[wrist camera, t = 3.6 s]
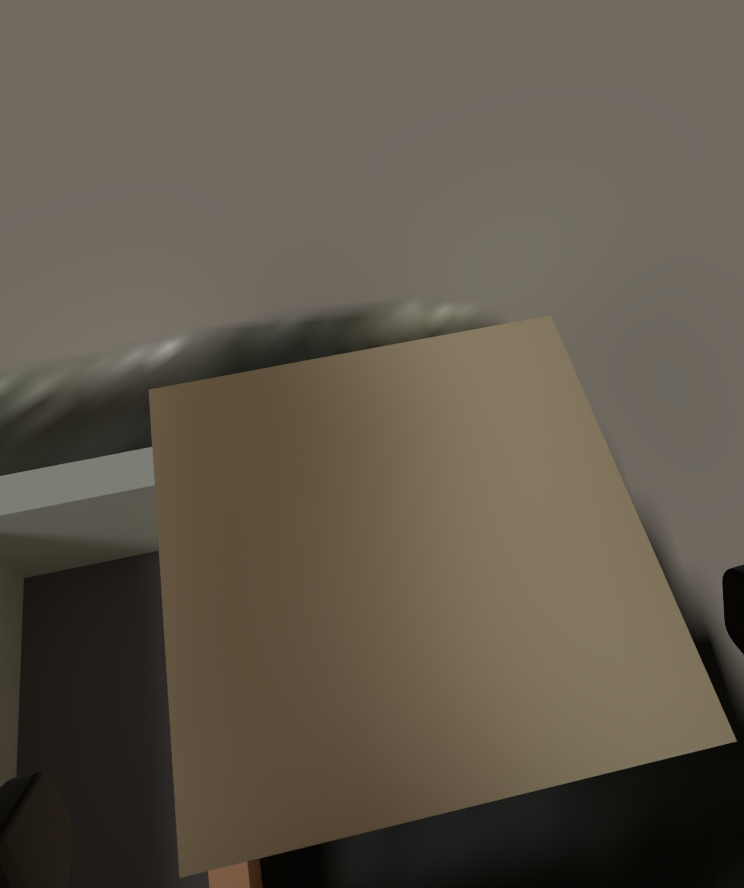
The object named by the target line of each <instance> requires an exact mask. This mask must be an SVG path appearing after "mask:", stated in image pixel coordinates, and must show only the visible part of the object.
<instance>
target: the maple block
mask: <svg viewBox="0 0 744 888" xmlns="http://www.w3.org/2000/svg"><path fill="white" fill-rule="evenodd" d="M149 401H150V417H151V433H152V448H153V464H154V480H155V496H156V512H157V528H158V544H159V560H160V576H161V591H162V607H163V623H164V639H165V655H166V671H167V687H168V703H169V719H170V734H171V750H172V766H173V782H174V798H175V814H176V830H177V846H178V862H179V877H180V878H182V877H186V876H190V875H194V874H198V873H202V872H206V871H210V870H214V869H218V868H222V867H226V866H231V865H235V864H239V863H243V862H247V861H251V860H255V859H259V858H263V857H267V856H271V855H275V854H280V853H284V852H288V851H292V850H296V849H300V848H304V847H308V846H312V845H316V844H320V843H324V842H328V841H333V840H337V839H341V838H345V837H349V836H353V835H357V834H361V833H365V832H369V831H373V830H377V829H381V828H386V827H390V826H394V825H398V824H402V823H406V822H410V821H414V820H418V819H422V818H426V817H430V816H434V815H439V814H443V813H447V812H451V811H455V810H459V809H463V808H467V807H471V806H475V805H479V804H483V803H487V802H492V801H496V800H500V799H504V798H508V797H512V796H516V795H520V794H524V793H528V792H532V791H536V790H540V789H545V788H549V787H553V786H557V785H561V784H565V783H569V782H573V781H577V780H581V779H585V778H589V777H594V776H598V775H602V774H606V773H610V772H614V771H618V770H622V769H626V768H630V767H634V766H638V765H642V764H647V763H651V762H655V761H659V760H663V759H667V758H671V757H675V756H679V755H683V754H687V753H691V752H695V751H700V750H704V749H708V748H712V747H716V746H720V745H724V744H728V743H732V742H736V741H737V740H736V738H735V736H734V734H733V731H732V729H731V727H730V724H729V722H728V720H727V718H726V715H725V713H724V711H723V708H722V706H721V704H720V702H719V699H718V697H717V695H716V692H715V690H714V688H713V685H712V683H711V681H710V679H709V676H708V674H707V672H706V669H705V667H704V665H703V663H702V660H701V658H700V656H699V653H698V651H697V649H696V647H695V644H694V642H693V640H692V637H691V635H690V633H689V631H688V628H687V626H686V624H685V621H684V619H683V617H682V614H681V612H680V610H679V608H678V605H677V603H676V601H675V598H674V596H673V594H672V592H671V589H670V587H669V585H668V582H667V580H666V578H665V576H664V573H663V571H662V569H661V566H660V564H659V562H658V560H657V557H656V555H655V553H654V550H653V548H652V546H651V543H650V541H649V539H648V537H647V534H646V532H645V530H644V527H643V525H642V523H641V521H640V518H639V516H638V514H637V511H636V509H635V507H634V505H633V502H632V500H631V498H630V495H629V493H628V491H627V489H626V486H625V484H624V482H623V479H622V477H621V475H620V472H619V470H618V468H617V466H616V463H615V461H614V459H613V456H612V454H611V452H610V450H609V447H608V445H607V443H606V440H605V438H604V436H603V434H602V431H601V429H600V427H599V424H598V422H597V420H596V418H595V415H594V413H593V411H592V408H591V406H590V404H589V402H588V399H587V397H586V395H585V392H584V390H583V388H582V386H581V383H580V381H579V379H578V377H577V374H576V372H575V369H574V367H573V365H572V363H571V360H570V358H569V356H568V353H567V351H566V349H565V347H564V344H563V342H562V340H561V338H560V335H559V333H558V330H557V328H556V326H555V324H554V322H553V319H552V317H551V316H545V317H540V318H534V319H528V320H523V321H518V322H512V323H507V324H501V325H496V326H491V327H485V328H480V329H474V330H469V331H464V332H458V333H453V334H447V335H442V336H437V337H431V338H426V339H421V340H415V341H410V342H404V343H399V344H394V345H388V346H383V347H377V348H372V349H367V350H361V351H356V352H350V353H345V354H340V355H334V356H329V357H323V358H318V359H313V360H307V361H302V362H296V363H291V364H286V365H280V366H275V367H269V368H264V369H259V370H253V371H248V372H242V373H237V374H232V375H226V376H221V377H215V378H210V379H205V380H199V381H194V382H188V383H183V384H178V385H172V386H167V387H161V388H156V389H151V390H149Z"/></svg>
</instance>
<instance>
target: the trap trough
mask: <svg viewBox="0 0 744 888" xmlns="http://www.w3.org/2000/svg"><path fill="white" fill-rule="evenodd" d="M39 770H41V771H44V772H47V773H48V774H49V776H50V777H51V779H52V781H53V783H54V785H55V788H56V790H57V792H58V795H59V797H60V799H61V802H62V804H63V806H64V808H65V811H66V813H67V815H68V818H69V820H70V824H71V828H72V850H71V859H70V867H69V876H68V885H67V888H263V885H262V876H261V867H260V858H259V859H255V860H251V861H247V862H243V863H239V864H235V865H231V866H226V867H222V868H218V869H214V870H210V871H206V872H202V873H198V874H194V875H190V876H186V877H182V878H180V877H179V862H178V846H177V830H176V814H175V798H174V782H173V766H172V750H171V734H170V719H169V703H168V687H167V671H166V655H165V639H164V623H163V607H162V591H161V576H160V560H159V544H158V528H157V512H156V496H155V480H154V464H153V448H152V447H150V448H145V449H139V450H134V451H129V452H124V453H119V454H113V455H108V456H103V457H98V458H93V459H87V460H82V461H77V462H72V463H67V464H61V465H56V466H51V467H46V468H40V469H35V470H30V471H25V472H20V473H14V474H9V475H4V476H0V787H1V786H2V785H3V784H4V783H5V782H6V781H8V780H10V779H12V778H15V777H18V776H22V775H25V774H29V773H32V772H35V771H39Z"/></svg>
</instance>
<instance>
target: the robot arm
mask: <svg viewBox="0 0 744 888" xmlns="http://www.w3.org/2000/svg"><path fill="white" fill-rule="evenodd" d="M722 583H723V602H724V619H725V626H726V629H727V632H728V634H729V636H730V638H731V639H732V641H733V642H734V643H735V645H736V646H737V647H738V648H739V649H740V651H741V652H742V653H743V654H744V565H741V566H738V567H734V568H731V569H728V570H727V571H726V572H725V573H724V576H723V582H722ZM71 850H72V828H71V824H70V820H69V818H68V815H67V813H66V811H65V808H64V806H63V804H62V802H61V799H60V797H59V795H58V792H57V790H56V788H55V785H54V783H53V781H52V779H51V777H50V776H49V774H48V773H47V772H44V771H41V770H39V771H35V772H32V773H29V774H25V775H22V776H18V777H15V778H12V779H10V780H8V781H6V782H5V783H4V784H3V785H2V786H1V787H0V888H67V885H68V876H69V867H70V859H71Z"/></svg>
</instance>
